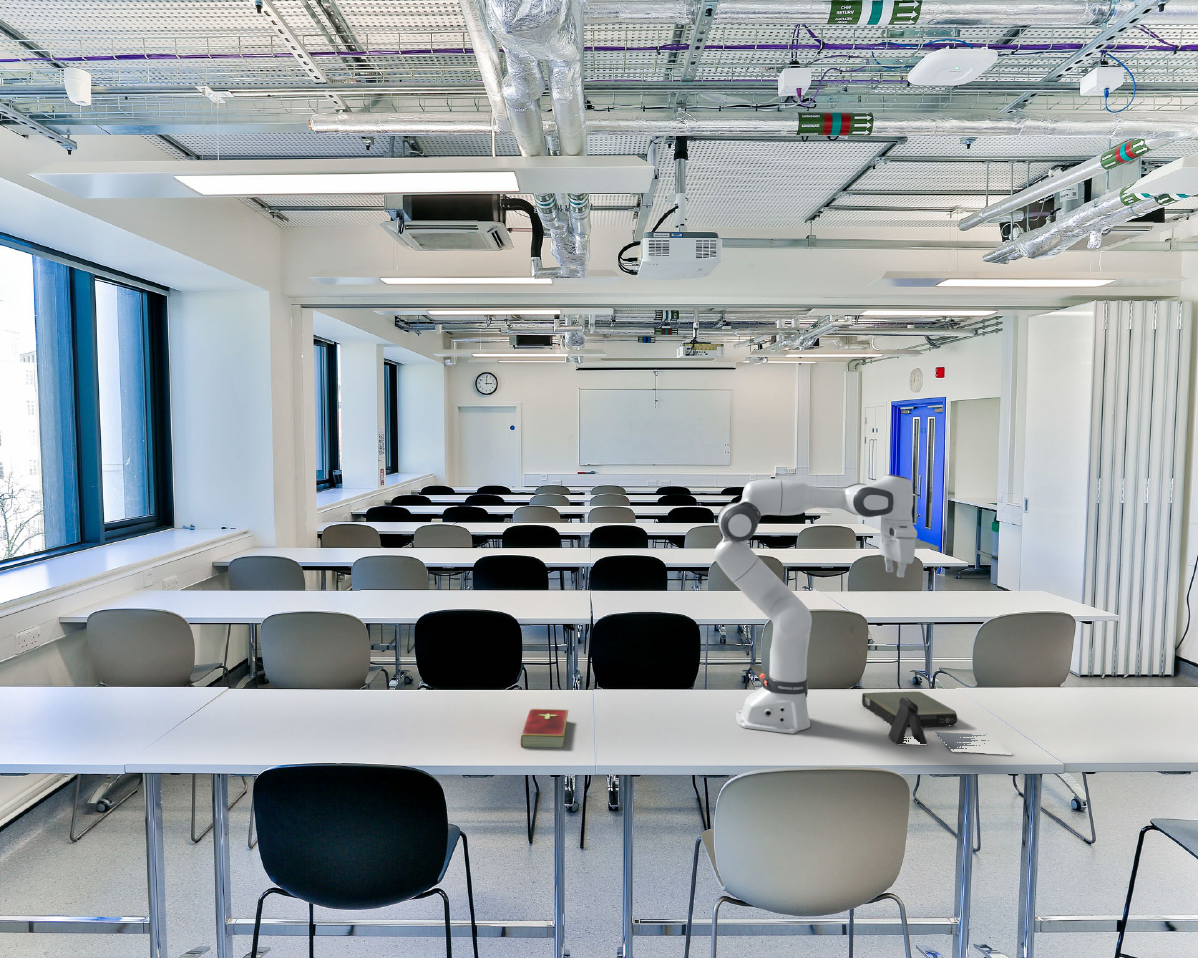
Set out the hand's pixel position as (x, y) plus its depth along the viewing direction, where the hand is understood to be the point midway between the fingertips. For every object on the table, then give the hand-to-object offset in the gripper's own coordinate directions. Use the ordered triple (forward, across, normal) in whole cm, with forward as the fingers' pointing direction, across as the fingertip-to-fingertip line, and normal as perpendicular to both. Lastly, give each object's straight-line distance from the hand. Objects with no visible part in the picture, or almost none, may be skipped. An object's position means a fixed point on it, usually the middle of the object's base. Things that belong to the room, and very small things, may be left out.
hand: (894, 574), depth 225 cm
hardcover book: (+48, +14, -104) cm, 115 cm away
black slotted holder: (+47, +10, +2) cm, 48 cm away
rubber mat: (+47, +10, +20) cm, 52 cm away
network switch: (+48, -12, +10) cm, 50 cm away
